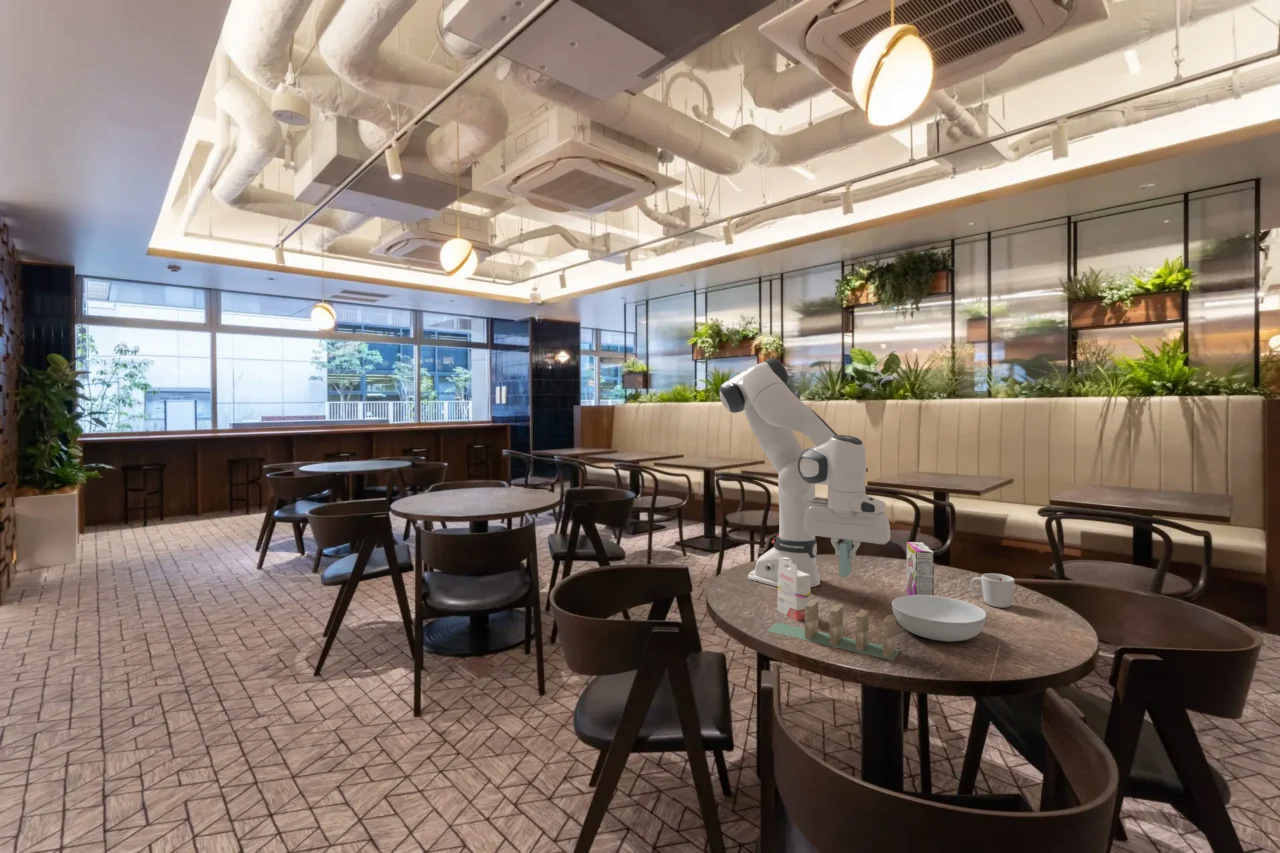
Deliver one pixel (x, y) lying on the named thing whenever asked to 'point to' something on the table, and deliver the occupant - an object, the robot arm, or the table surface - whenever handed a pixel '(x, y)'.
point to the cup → (995, 589)
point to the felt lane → (825, 639)
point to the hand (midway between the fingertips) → (845, 557)
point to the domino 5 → (889, 635)
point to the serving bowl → (939, 617)
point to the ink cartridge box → (793, 590)
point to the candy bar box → (920, 569)
